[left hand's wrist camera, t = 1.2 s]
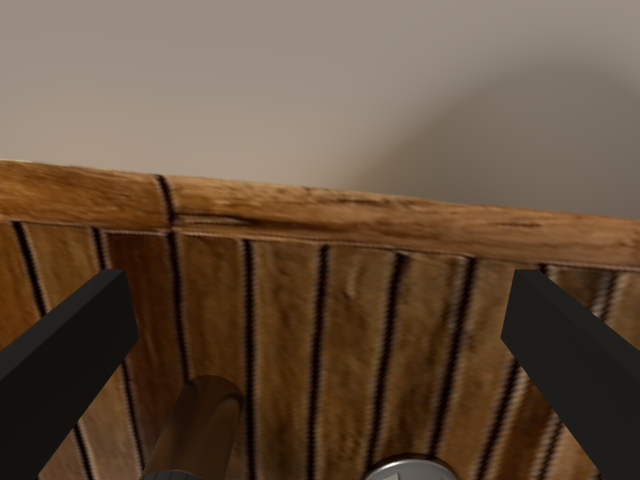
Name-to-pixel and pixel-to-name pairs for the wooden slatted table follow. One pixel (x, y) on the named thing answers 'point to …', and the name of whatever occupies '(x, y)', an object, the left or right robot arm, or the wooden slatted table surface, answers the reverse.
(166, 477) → the lid
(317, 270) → the wooden slatted table surface
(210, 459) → the jar
